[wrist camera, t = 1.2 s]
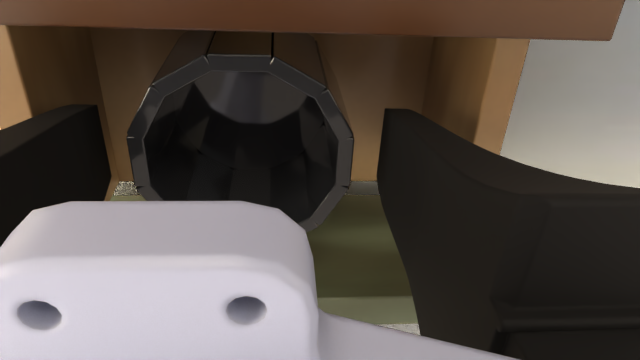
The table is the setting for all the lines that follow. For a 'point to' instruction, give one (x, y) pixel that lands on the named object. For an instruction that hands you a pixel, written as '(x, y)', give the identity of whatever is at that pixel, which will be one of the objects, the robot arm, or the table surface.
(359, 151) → the drawer
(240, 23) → the cabinet
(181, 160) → the dark grey cup
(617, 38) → the table surface
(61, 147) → the robot arm
